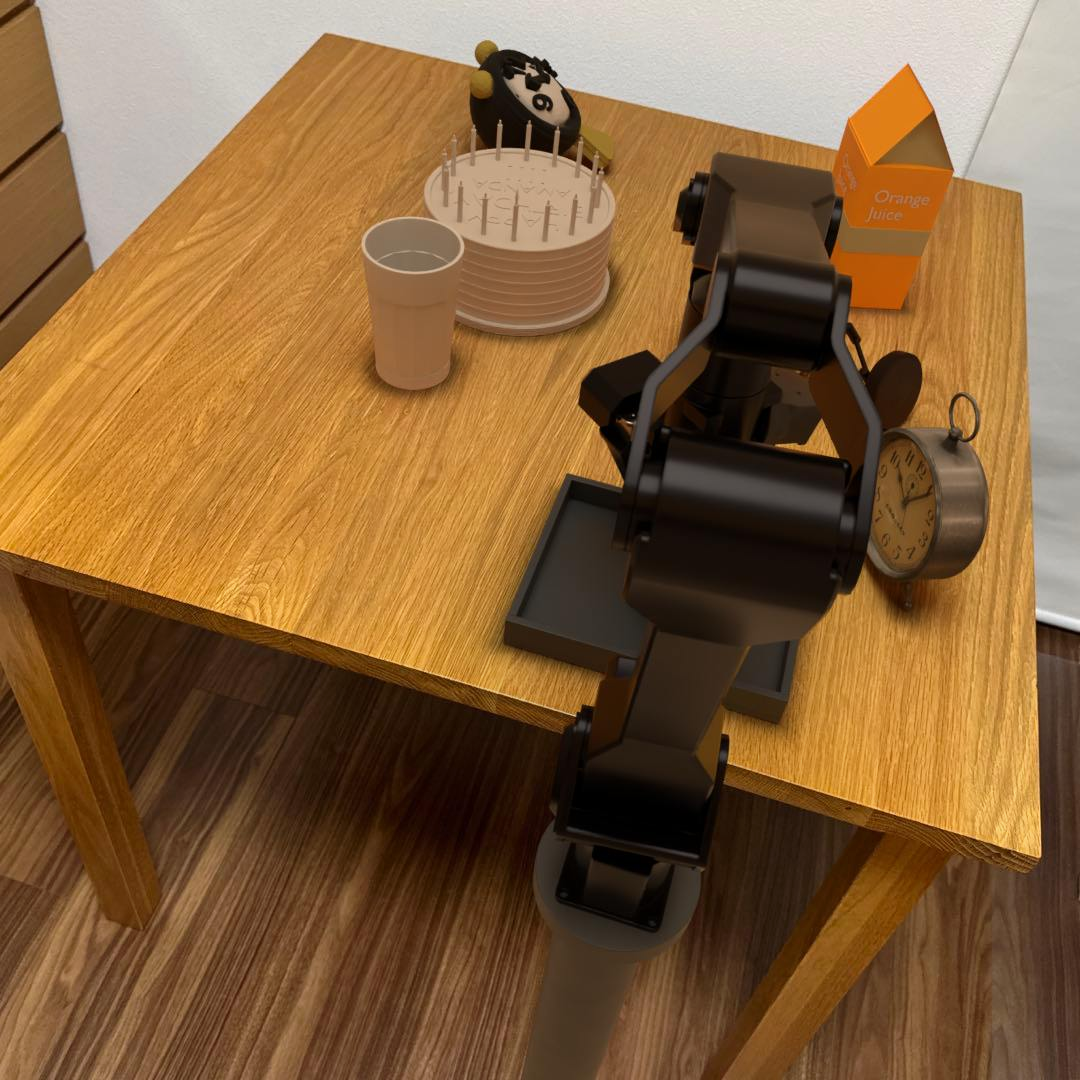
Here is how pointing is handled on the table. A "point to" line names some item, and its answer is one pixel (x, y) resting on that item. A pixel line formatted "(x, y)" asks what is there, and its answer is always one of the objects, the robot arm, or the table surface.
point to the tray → (613, 602)
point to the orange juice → (889, 190)
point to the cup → (412, 298)
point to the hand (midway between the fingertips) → (676, 548)
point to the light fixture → (890, 382)
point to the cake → (525, 235)
